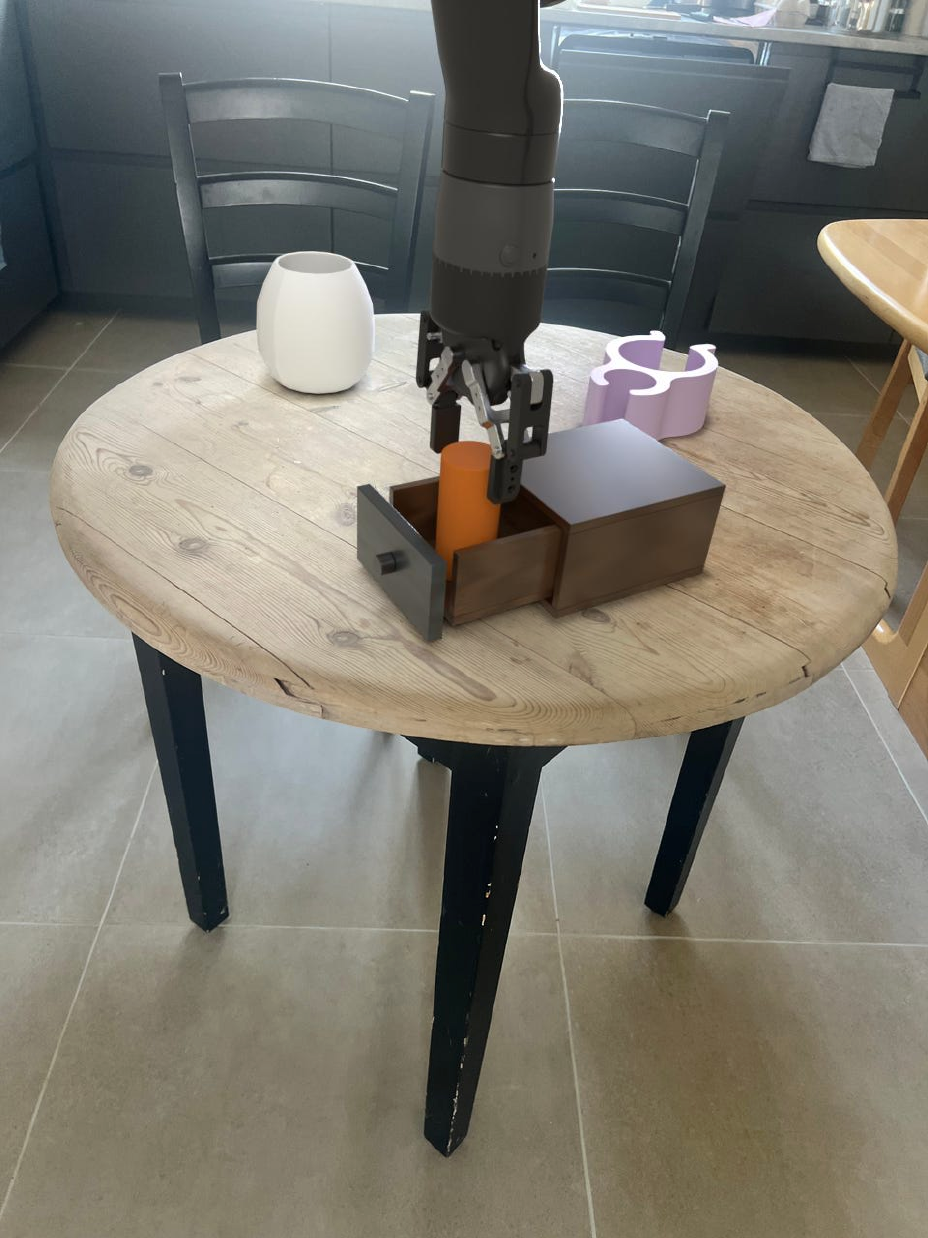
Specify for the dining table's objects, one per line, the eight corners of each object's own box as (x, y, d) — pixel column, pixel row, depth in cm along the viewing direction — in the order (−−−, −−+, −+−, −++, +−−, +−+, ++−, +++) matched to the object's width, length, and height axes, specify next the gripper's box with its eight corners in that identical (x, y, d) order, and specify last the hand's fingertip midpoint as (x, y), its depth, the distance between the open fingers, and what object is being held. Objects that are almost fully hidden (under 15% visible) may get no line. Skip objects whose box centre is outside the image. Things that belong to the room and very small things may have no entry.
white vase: (397, 381, 107) (400, 264, 99) (320, 415, 98) (317, 289, 90) (315, 351, 113) (311, 238, 105) (235, 380, 104) (225, 259, 96)
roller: (452, 590, 70) (461, 475, 64) (423, 559, 73) (429, 446, 67) (504, 575, 72) (518, 463, 66) (474, 546, 76) (484, 436, 70)
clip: (659, 468, 94) (673, 406, 90) (552, 434, 98) (561, 373, 94) (721, 407, 108) (736, 350, 104) (625, 380, 113) (635, 325, 108)
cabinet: (555, 618, 72) (570, 525, 66) (468, 535, 81) (475, 447, 76) (702, 573, 78) (726, 485, 73) (607, 501, 88) (622, 418, 82)
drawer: (413, 647, 66) (417, 570, 62) (343, 562, 74) (342, 488, 70) (586, 595, 73) (599, 522, 69) (504, 522, 81) (511, 453, 77)
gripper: (604, 277, 55) (566, 509, 65) (483, 217, 65) (466, 427, 74) (500, 289, 52) (477, 531, 62) (389, 224, 61) (384, 442, 71)
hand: (471, 474), depth 68 cm, fingers open, 8 cm apart
